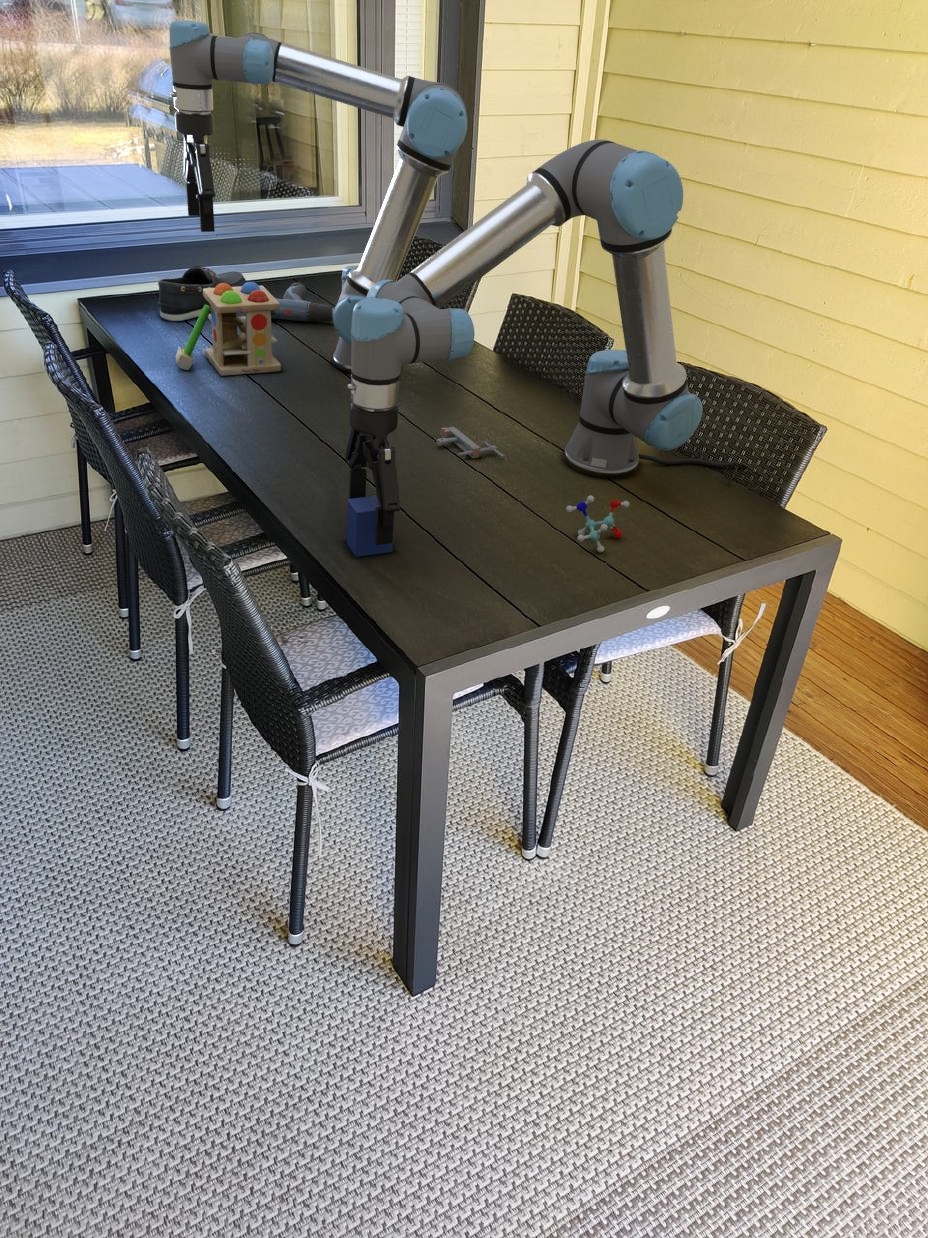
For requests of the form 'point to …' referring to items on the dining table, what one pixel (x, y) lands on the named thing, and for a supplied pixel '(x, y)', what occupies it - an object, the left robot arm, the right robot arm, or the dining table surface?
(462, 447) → the clamp
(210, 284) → the boat shoe
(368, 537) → the block
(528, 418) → the dining table surface
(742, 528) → the dining table surface
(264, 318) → the pounding bench toy
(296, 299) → the power drill
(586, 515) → the molecular model
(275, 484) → the dining table surface
